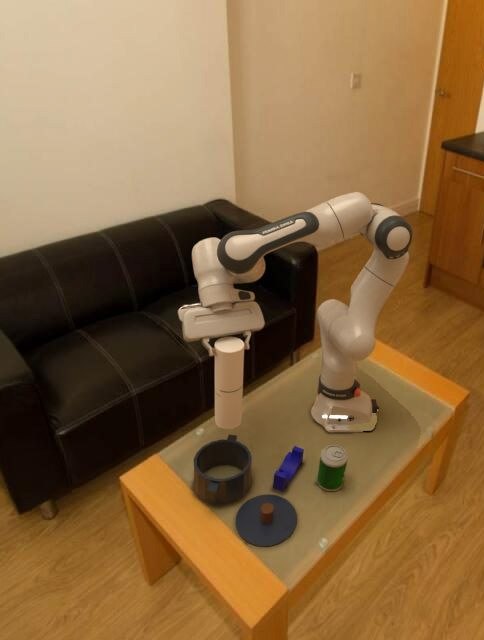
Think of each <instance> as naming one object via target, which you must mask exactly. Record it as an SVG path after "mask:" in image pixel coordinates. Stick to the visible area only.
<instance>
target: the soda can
mask: <svg viewBox="0 0 484 640" xmlns="http://www.w3.org/2000/svg"><path fill="white" fill-rule="evenodd" d="M348 460H349V455H348V452H347V450H345V449H344V447H342V446H340V445H338V444H330V445H328V446H325V447H324V448H323V449H321V452H320V458H319V465H318V471H317V479H316V482H317V485H318V486H319V487H320V488H321V489H322V490H324V491H326V492H336V491H338V490H340V489H341V488H342V487H343V485H344V481H345V476H346V470H347V465H348Z"/></svg>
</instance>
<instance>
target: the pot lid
mask: <svg viewBox="0 0 484 640" xmlns="http://www.w3.org/2000/svg"><path fill="white" fill-rule="evenodd" d="M297 523H298V515H297V511H296V508H295V506H294V505H293V504H292V503H291V502H290V501H289V500H288V499H286V498H285V497H282V496H280V495H277V494H269V493H267V494H260V495H257V496H253V497H251V498H249V499H248V500H246V501H245V502H244V503H243V504H242V505H241V506H240V508H239V509H238V510H237V513H236V515H235V528H236V531H237V533H238V535H239V536H240V538H241V539H242V540H244V541H245V542H246V543H248V544H250V545H252V546H256V547H261V548H267V547H274V546H277V545H280V544H282V543H284V542H285V541H286V540H287V539H289V538H290V537H291V536H292V535H293V533H294V532H295V530H296V527H297Z"/></svg>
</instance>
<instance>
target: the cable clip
mask: <svg viewBox="0 0 484 640" xmlns="http://www.w3.org/2000/svg"><path fill="white" fill-rule="evenodd" d="M304 451H305V449H304V448H301V447H299V446H296V445H294V446H293V447H292V449H291V451H288V452H287V454H286V455H285V457H284V458H283V461H282V462H281V465H280V467H279V468H278V470H275V472H274V473H273V482H272V489H274V490H277V491H279V492H281V493H284V491H285V490H284V489H285V488H287V487H288V485H289V484H290V482H291V481H292V480H293V478H294V476H295V475H296V473H297V472H298V470H299V469H300V466H302V465H303V461H304Z"/></svg>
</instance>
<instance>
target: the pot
mask: <svg viewBox="0 0 484 640" xmlns="http://www.w3.org/2000/svg"><path fill="white" fill-rule="evenodd" d="M237 439H238V435H236V434H228V435H227V438H226V439H217V440H212V441H210V442H208V443H206V444H204V445H203V446H202V447H200V448H199V449H198V451H196V453H195V455H194V457H193V483H194V492H195V494H196V496H197V497H198V499H200V500H201V501H203V502H204V503H207V504H210V505H213V506H225V505H230V504H233V503H236V502H237V501H239V500H241V498H243V497H245V495H246V494H247V493H248V491H249V489H250V487H251V483H252V465H253V463H252V461H253V458H252V457H253V456H252V452H251V450H250V449H249V448H248V447H247V445H245V444H243V443H242V442H241V441H237ZM226 465H227V466H232V467H236V468H238V469H239V470H241V471H240V472H238V473H237V474H235V475H232V476H229V477H225V478H215V477H212V476H208V475H206V474H205V472H206V471H208V470H210V469H212V468H214V467H219V466H226Z"/></svg>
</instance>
